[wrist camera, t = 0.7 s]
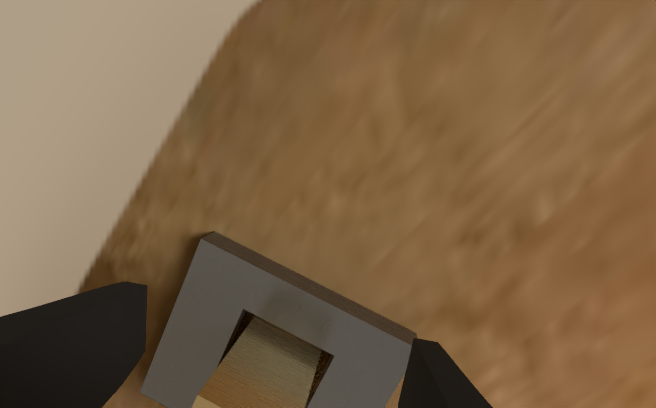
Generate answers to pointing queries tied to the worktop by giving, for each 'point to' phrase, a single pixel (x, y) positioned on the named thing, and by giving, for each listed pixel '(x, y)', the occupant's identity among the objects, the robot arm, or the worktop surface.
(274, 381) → the brass peg
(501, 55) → the worktop surface
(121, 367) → the robot arm
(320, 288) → the socket plate
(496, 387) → the worktop surface
